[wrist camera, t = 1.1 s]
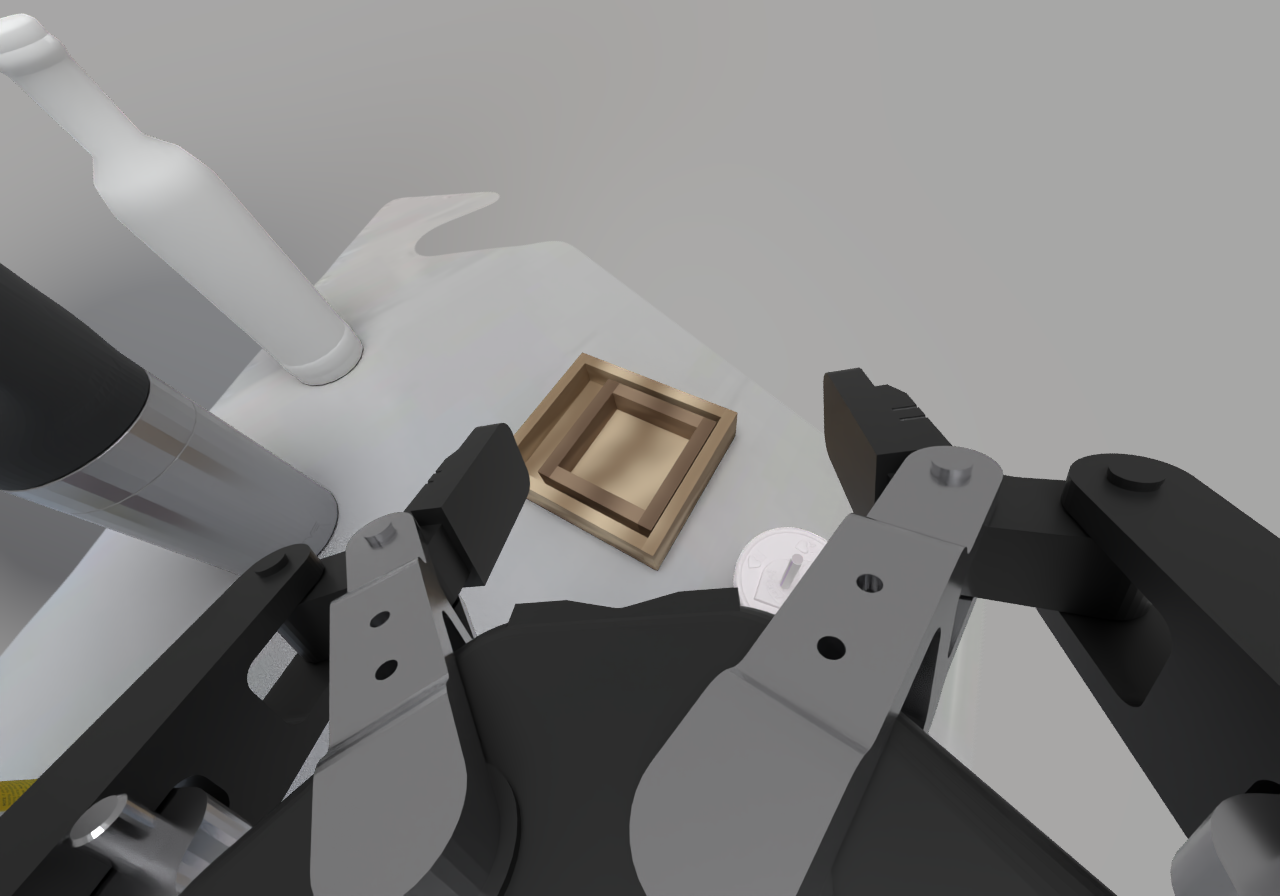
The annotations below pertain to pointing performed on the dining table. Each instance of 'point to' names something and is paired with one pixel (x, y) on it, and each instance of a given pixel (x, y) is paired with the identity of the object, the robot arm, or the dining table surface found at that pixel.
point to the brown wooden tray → (623, 455)
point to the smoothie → (774, 566)
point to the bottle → (184, 213)
